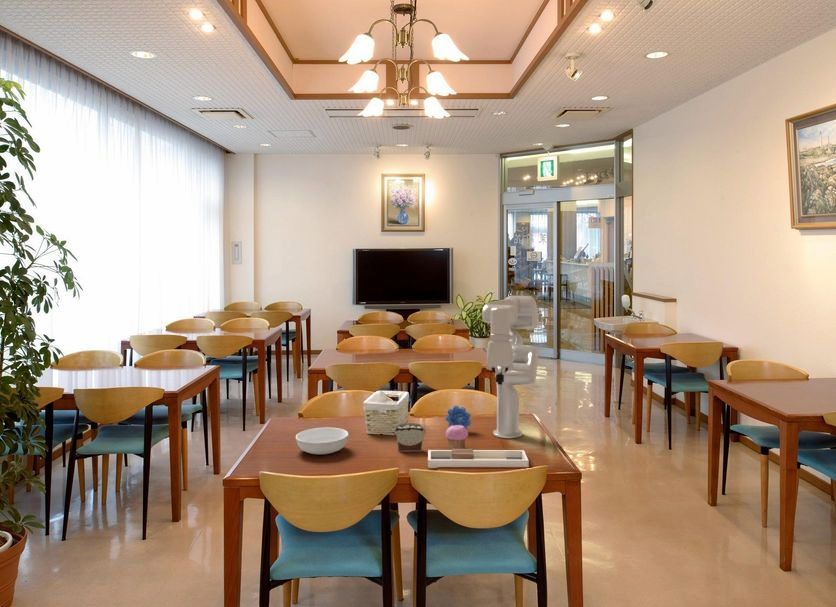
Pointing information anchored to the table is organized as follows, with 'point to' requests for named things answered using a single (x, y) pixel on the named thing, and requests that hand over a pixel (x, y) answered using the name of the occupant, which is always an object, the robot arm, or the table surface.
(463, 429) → the cupcake
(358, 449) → the table surface
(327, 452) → the serving bowl
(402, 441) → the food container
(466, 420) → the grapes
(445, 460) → the white tray
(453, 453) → the walnut block
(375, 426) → the storage basket
